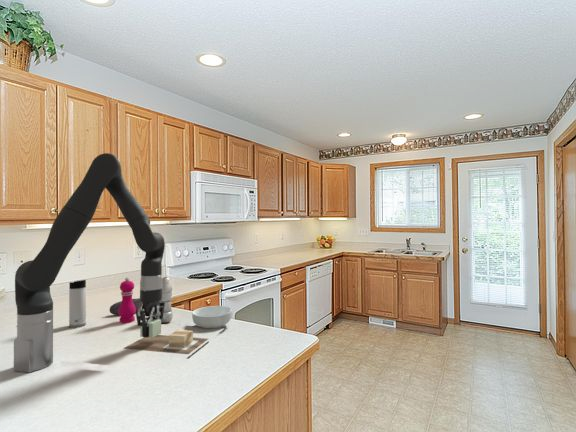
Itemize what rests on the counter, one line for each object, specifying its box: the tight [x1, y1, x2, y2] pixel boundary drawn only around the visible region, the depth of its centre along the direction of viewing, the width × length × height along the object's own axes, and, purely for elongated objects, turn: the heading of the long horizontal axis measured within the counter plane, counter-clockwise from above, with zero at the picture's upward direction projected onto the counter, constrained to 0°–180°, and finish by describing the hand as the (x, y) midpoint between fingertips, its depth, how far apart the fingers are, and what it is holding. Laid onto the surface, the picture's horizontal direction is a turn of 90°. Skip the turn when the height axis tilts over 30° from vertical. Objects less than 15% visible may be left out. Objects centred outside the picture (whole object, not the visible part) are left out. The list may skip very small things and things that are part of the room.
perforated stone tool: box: [109, 297, 143, 316], centre depth 169 cm, size 15×5×7 cm, turn 117°
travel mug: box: [68, 279, 87, 329], centre depth 150 cm, size 6×7×20 cm
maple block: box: [168, 329, 194, 348], centre depth 122 cm, size 6×6×4 cm
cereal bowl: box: [191, 305, 233, 329], centre depth 147 cm, size 17×17×7 cm
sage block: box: [139, 319, 162, 338], centre depth 124 cm, size 5×5×5 cm
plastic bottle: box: [160, 276, 173, 324], centre depth 154 cm, size 6×7×20 cm
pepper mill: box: [118, 277, 136, 324], centre depth 156 cm, size 7×7×20 cm
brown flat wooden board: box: [122, 334, 210, 360], centre depth 123 cm, size 15×25×2 cm, turn 77°
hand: (150, 334), depth 124 cm, fingers closed on sage block, 5 cm apart
